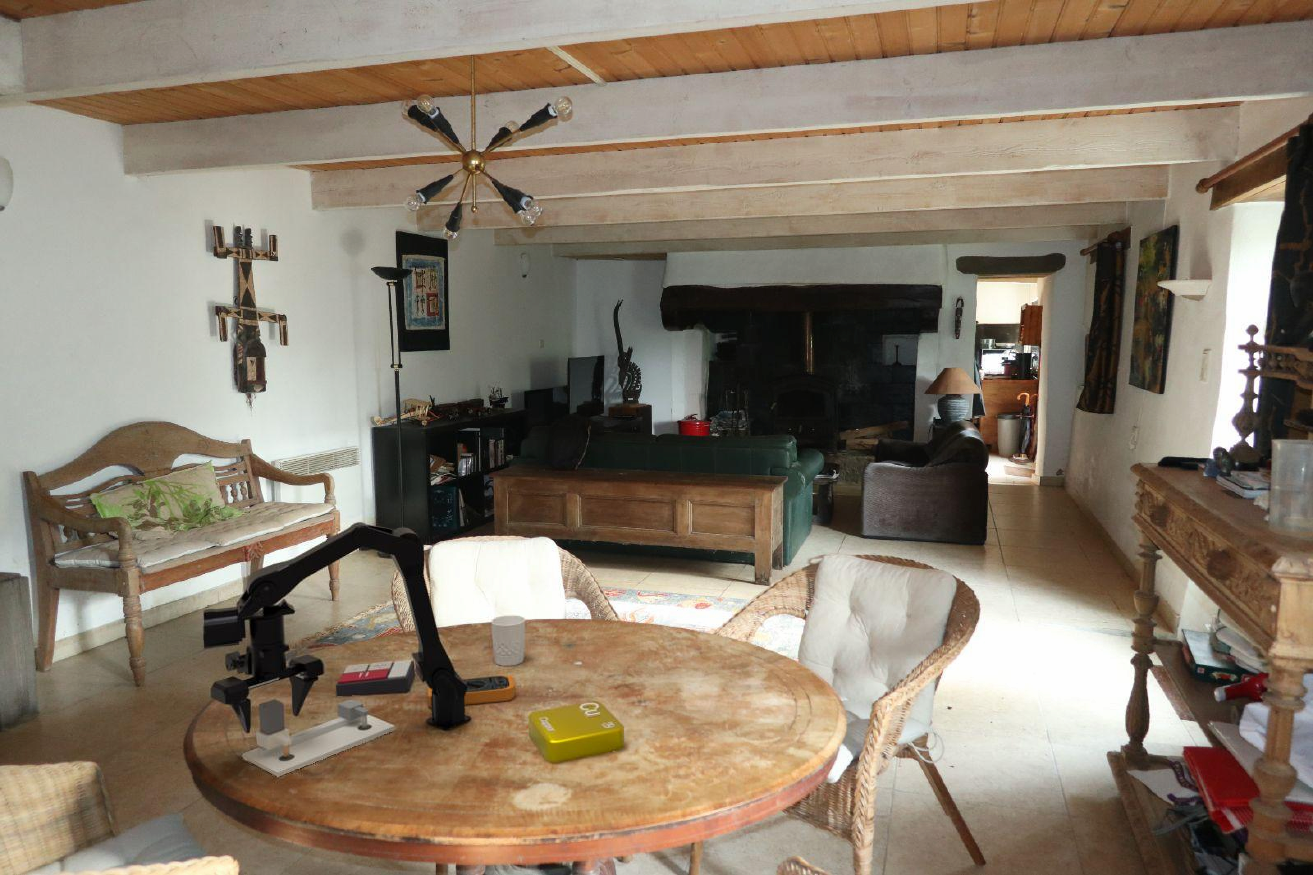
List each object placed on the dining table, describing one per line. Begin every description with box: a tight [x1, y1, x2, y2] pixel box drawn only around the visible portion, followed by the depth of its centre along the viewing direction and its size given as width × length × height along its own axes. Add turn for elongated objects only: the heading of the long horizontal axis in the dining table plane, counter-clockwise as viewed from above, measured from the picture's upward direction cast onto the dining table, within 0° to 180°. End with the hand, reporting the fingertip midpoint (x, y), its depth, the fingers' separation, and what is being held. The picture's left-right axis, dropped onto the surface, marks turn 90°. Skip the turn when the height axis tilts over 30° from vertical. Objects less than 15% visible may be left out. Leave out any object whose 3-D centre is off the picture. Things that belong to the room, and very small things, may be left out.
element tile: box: [528, 700, 625, 764], centre depth 167 cm, size 15×15×5 cm
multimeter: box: [427, 674, 516, 709], centre depth 188 cm, size 9×18×3 cm, turn 105°
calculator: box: [335, 659, 416, 697], centre depth 196 cm, size 11×4×15 cm
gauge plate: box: [241, 698, 396, 778], centre depth 166 cm, size 12×24×5 cm, turn 142°
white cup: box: [490, 614, 526, 667], centre depth 210 cm, size 8×8×10 cm
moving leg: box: [255, 698, 292, 757], centre depth 160 cm, size 7×4×8 cm, turn 52°
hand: (271, 724), depth 161 cm, fingers open, 9 cm apart
